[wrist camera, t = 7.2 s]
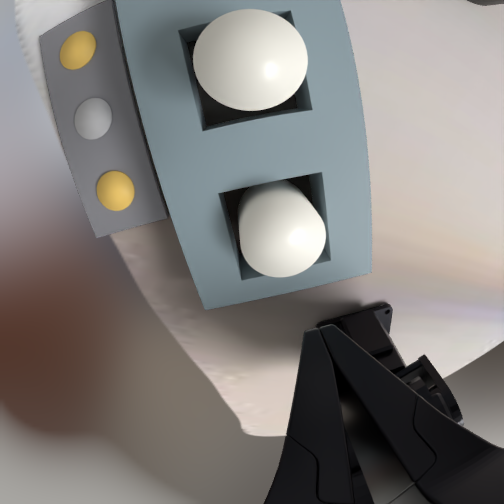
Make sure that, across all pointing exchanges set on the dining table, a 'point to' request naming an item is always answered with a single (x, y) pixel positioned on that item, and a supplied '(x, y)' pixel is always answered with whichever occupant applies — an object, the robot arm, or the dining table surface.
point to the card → (100, 122)
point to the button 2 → (279, 229)
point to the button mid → (250, 59)
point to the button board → (252, 143)
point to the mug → (487, 2)
